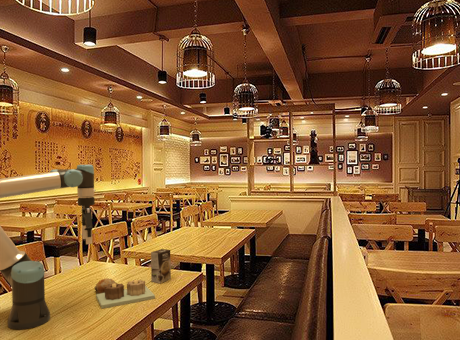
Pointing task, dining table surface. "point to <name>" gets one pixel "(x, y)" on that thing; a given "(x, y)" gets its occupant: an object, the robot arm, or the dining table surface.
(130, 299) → the gear board
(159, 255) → the coffee box
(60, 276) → the dining table surface
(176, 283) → the dining table surface
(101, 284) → the bread roll
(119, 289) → the walnut gear
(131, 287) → the beech gear
